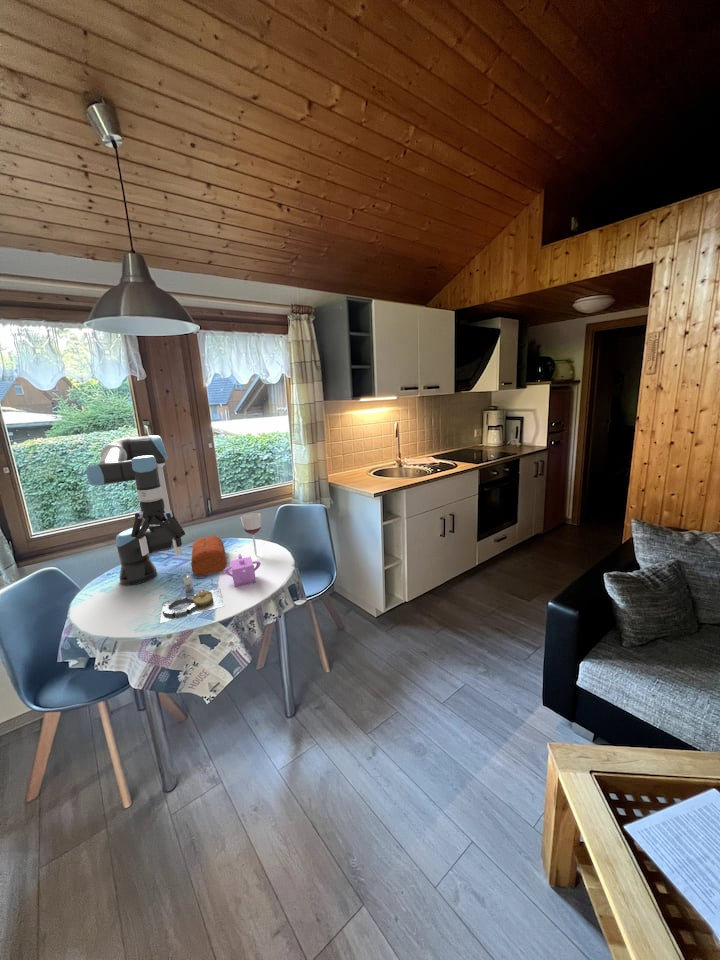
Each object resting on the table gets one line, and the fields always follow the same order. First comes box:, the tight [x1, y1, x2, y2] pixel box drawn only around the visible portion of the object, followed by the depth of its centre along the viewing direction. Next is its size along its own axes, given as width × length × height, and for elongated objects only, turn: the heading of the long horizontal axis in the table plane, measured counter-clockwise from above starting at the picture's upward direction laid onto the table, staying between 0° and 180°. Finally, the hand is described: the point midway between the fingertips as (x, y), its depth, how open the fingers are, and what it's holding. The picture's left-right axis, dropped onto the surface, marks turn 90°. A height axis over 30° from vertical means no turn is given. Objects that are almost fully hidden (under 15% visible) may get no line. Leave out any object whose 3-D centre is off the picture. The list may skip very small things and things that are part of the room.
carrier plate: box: [159, 588, 225, 624], centre depth 150 cm, size 16×22×3 cm
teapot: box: [223, 553, 261, 588], centre depth 167 cm, size 15×13×11 cm
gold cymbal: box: [193, 589, 213, 606], centre depth 151 cm, size 7×7×4 cm
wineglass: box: [240, 512, 266, 562], centre depth 192 cm, size 9×10×22 cm
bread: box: [190, 535, 227, 577], centre depth 190 cm, size 16×27×11 cm, turn 22°
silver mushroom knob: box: [182, 574, 194, 594], centre depth 160 cm, size 7×7×8 cm
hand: (162, 554), depth 142 cm, fingers open, 13 cm apart
